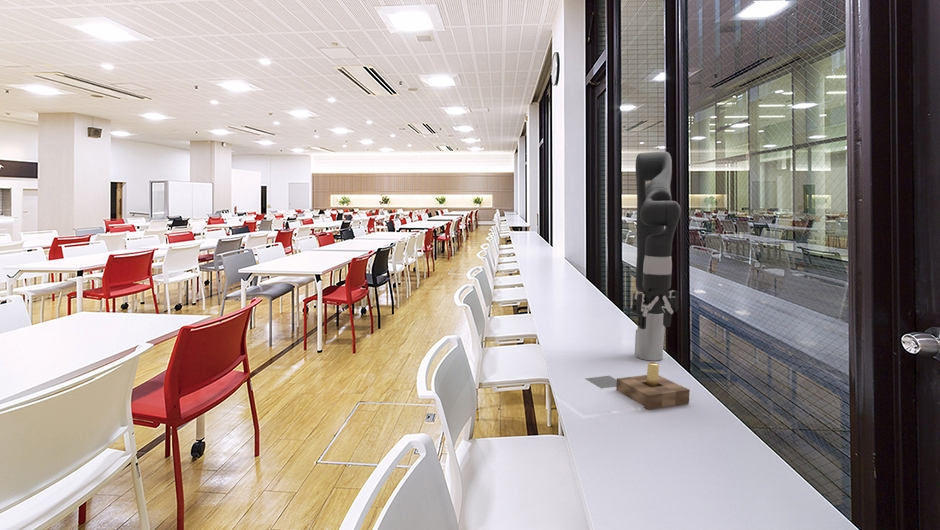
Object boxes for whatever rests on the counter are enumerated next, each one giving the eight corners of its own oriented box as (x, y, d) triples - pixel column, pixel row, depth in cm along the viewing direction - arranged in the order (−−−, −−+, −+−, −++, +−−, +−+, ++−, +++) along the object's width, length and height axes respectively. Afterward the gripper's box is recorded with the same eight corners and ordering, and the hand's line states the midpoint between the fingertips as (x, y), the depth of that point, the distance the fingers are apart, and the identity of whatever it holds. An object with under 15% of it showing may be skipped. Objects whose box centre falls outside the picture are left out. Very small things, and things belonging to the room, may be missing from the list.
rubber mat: (584, 379, 155) (584, 378, 155) (609, 377, 158) (609, 375, 158) (601, 389, 146) (601, 388, 146) (626, 386, 149) (626, 385, 149)
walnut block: (616, 391, 145) (616, 378, 145) (654, 386, 150) (655, 373, 149) (647, 409, 132) (648, 395, 131) (688, 403, 136) (689, 389, 136)
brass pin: (643, 396, 142) (645, 362, 141) (652, 394, 143) (654, 361, 142) (650, 399, 139) (652, 365, 138) (659, 398, 140) (661, 364, 139)
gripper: (668, 269, 144) (665, 322, 146) (627, 271, 139) (625, 326, 141) (687, 272, 137) (683, 328, 139) (645, 274, 132) (642, 332, 134)
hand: (654, 327), depth 140 cm, fingers open, 8 cm apart
